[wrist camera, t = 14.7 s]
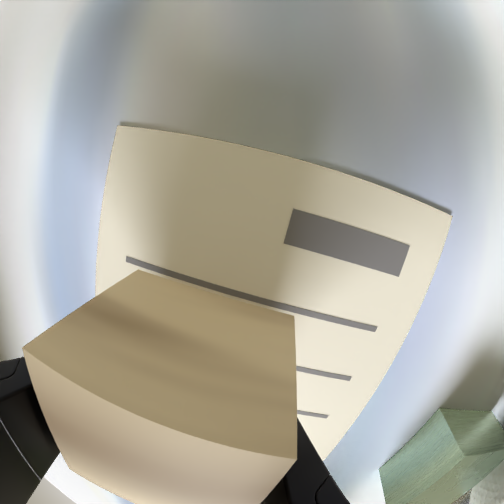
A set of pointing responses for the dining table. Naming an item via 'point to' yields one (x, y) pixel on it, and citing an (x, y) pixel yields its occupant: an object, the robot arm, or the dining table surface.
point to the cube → (170, 393)
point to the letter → (277, 254)
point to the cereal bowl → (490, 488)
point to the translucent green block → (444, 458)
